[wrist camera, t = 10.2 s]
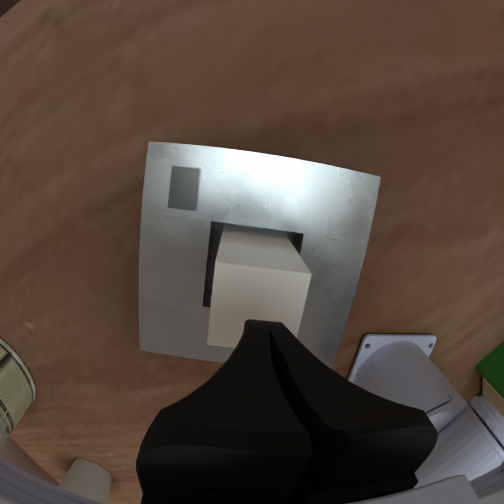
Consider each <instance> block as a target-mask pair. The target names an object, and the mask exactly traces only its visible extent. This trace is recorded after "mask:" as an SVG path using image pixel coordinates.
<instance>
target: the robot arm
mask: <svg viewBox="0 0 504 504" xmlns="http://www.w3.org/2000/svg"><path fill="white" fill-rule="evenodd" d="M436 339H437V338H436V336H435V335H433V334H429V335H406V334H367V335H365V336H364V337H363V339H362V342H361V345H360V348H359V351H358V353H357V356H356V359H355V361H354V364H353V367H352V369H351V372H350V375H349V377H348V380H347V379H345V378H344V377H342V376H341V375H339V374H338V373H336V372H335V371H333V370H332V369H330V368H329V367H328V366H327V365H325V364H324V363H323V362H322V361H320V360H319V359H318V358H317V357H316V356H315V355H313V354H312V353H311V352H310V351H309V350H308V349H307V348H306V347H305V346H304V345H303V344H302V343H301V342H300V341H299V340H298V339H297V338H296V337H295V336H294V335H293V334H292V333H291V332H290V330H289V329H288V328H287V327H286V326H285V325H284V324H283V323H282V322H274V321H264V320H254V319H248V320H246V321H245V324H244V331H243V334H242V337H241V338H240V340H239V342H238V344H237V346H236V348H235V349H234V351H233V352H232V354H231V355H230V357H229V358H228V360H227V361H226V362H225V363H224V365H223V366H222V367H221V368H220V369H219V370H218V371H217V372H216V373H215V374H214V375H213V376H212V377H211V378H210V379H209V380H208V381H207V382H206V383H204V384H203V385H202V386H201V387H199V388H198V389H196V390H195V391H193V392H192V393H191V394H189V395H188V396H186V397H185V398H183V399H181V400H179V401H177V402H176V403H174V404H172V405H170V406H168V407H166V408H163V409H161V410H160V412H159V413H158V414H157V416H156V417H155V419H154V420H153V422H152V424H151V425H150V427H149V429H148V430H147V432H146V434H145V437H144V439H143V441H142V443H141V446H140V450H139V453H138V457H137V460H136V471H137V475H138V479H139V482H140V486H141V489H142V493H143V496H142V500H141V504H504V417H503V416H502V415H501V414H500V412H499V411H498V410H497V409H496V408H495V406H494V405H493V404H492V403H491V402H490V401H489V400H488V399H487V398H486V397H485V396H479V397H477V396H474V397H473V398H472V399H471V400H470V403H471V404H472V406H473V407H474V408H475V410H476V411H475V410H474V409H473V408H472V407H471V406H470V404H469V403H468V402H467V401H466V400H465V399H464V398H463V397H462V396H461V395H460V394H459V393H458V392H457V390H456V389H455V388H454V387H453V386H452V384H451V383H450V382H449V381H448V380H447V378H446V377H445V376H444V375H443V374H442V372H441V371H440V370H439V369H438V368H437V367H436V365H435V364H434V363H433V362H432V361H431V360H430V358H429V356H430V354H431V351H432V349H433V347H434V345H435V342H436ZM366 344H368V345H367V346H365V345H366ZM429 344H430V345H429ZM0 504H103V503H100V502H96V501H93V500H90V499H87V498H85V497H82V496H79V495H76V494H74V493H71V492H68V491H66V490H63V489H61V488H59V487H56V486H54V485H52V484H49V483H47V482H45V481H43V480H40V479H38V478H36V477H34V476H32V475H30V474H28V473H26V472H24V471H22V470H20V469H18V468H16V467H14V466H12V465H11V464H9V463H7V462H6V461H4V460H2V459H0Z"/></svg>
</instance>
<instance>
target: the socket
mask: <svg viewBox="0 0 504 504" xmlns="http://www.w3.org/2000/svg"><path fill="white" fill-rule="evenodd" d="M380 178H381V177H379V176H374V175H370V174H366V173H362V172H358V171H353V170H349V169H344V168H340V167H335V166H330V165H325V164H320V163H315V162H310V161H305V160H299V159H293V158H288V157H282V156H276V155H269V154H263V153H256V152H249V151H242V150H234V149H226V148H218V147H209V146H199V145H189V144H177V143H164V142H149V144H148V152H147V160H146V168H145V178H144V188H143V199H142V212H141V228H140V248H139V339H140V350H142V351H148V352H153V353H159V354H165V355H171V356H177V357H184V358H191V359H198V360H206V361H214V362H222V363H225V362H226V361H227V360H228V358H229V357H230V355H231V354H232V352H233V351H234V349H235V348H230V347H221V346H213V345H207V338H208V328H209V317H210V307H211V297H212V288H213V279H214V270H215V261H216V257H217V253H218V249H219V244H220V240H221V236H222V232H223V228H224V224H228V225H235V226H243V227H250V228H258V229H265V230H273V231H280V232H285V234H286V235H287V237H288V238H289V240H290V241H291V243H292V244H293V246H294V247H295V249H296V251H297V252H298V254H299V255H300V257H301V258H302V260H303V261H304V263H305V264H306V266H307V267H308V269H309V271H310V272H311V279H310V284H309V288H308V293H307V297H306V301H305V306H304V310H303V314H302V318H301V322H300V327H299V331H298V335H297V339H298V340H299V341H300V342H301V343H302V344H303V345H304V346H305V347H306V348H307V349H308V350H309V351H310V352H311V353H312V354H313V355H315V356H316V357H317V358H318V359H319V360H320V361H322V362H323V363H324V364H325V365H327V366H328V367H329V368H330V369H332V366H333V363H334V361H335V358H336V355H337V352H338V349H339V346H340V342H341V339H342V336H343V333H344V330H345V327H346V323H347V320H348V317H349V313H350V310H351V306H352V303H353V299H354V296H355V292H356V288H357V284H358V281H359V277H360V273H361V269H362V265H363V261H364V257H365V253H366V248H367V244H368V239H369V235H370V230H371V226H372V221H373V216H374V211H375V206H376V200H377V195H378V189H379V183H380Z"/></svg>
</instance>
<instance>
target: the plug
mask: <svg viewBox="0 0 504 504" xmlns="http://www.w3.org/2000/svg"><path fill="white" fill-rule="evenodd" d="M310 279H311V272H310V271H309V269H308V267H307V266H306V264H305V263H304V261H303V260H302V258H301V257H300V255H299V254H298V252H297V251H296V249H295V247H294V246H293V244H292V243H291V241H290V240H289V238H288V237H287V235H286V234H285V232H280V231H273V230H265V229H258V228H250V227H243V226H235V225H228V224H224V228H223V232H222V236H221V240H220V244H219V249H218V253H217V257H216V261H215V270H214V279H213V288H212V297H211V307H210V317H209V328H208V338H207V345H213V346H221V347H230V348H236V346H237V344H238V342H239V340H240V338H241V337H242V334H243V331H244V324H245V321H246V320H248V319H254V320H264V321H274V322H282V323H283V324H284V325H285V326H286V327H287V328H288V329H289V330H290V332H291V333H292V334H293V335H294V336H295V337H296V338H297V335H298V331H299V327H300V322H301V318H302V314H303V310H304V306H305V301H306V297H307V293H308V288H309V284H310Z"/></svg>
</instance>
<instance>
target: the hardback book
mask: <svg viewBox="0 0 504 504" xmlns="http://www.w3.org/2000/svg"><path fill="white" fill-rule="evenodd" d="M476 370H477V371H478V372H479V373H480V374H481V375H482V376H483V390H482V391H480V392H479V393H478V394H477V395H476V396H477V397H479V396H485V397H486V398H487V399H488V400H489V401H490V402H491V403H492V404H493V405H494V406H495V408H496V409H497V410H498V411H499V412H500V414H501V415H502V416H503V417H504V342H503V343H501V344H500V345H499V346H498V347H497V348H496V349H495V350H494V351H492V352H491V353H490V354H489V355H488V356H486V357H485V358H484V359H483V360H482V361H480V362H479V363H478V364H477V365H476Z"/></svg>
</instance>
